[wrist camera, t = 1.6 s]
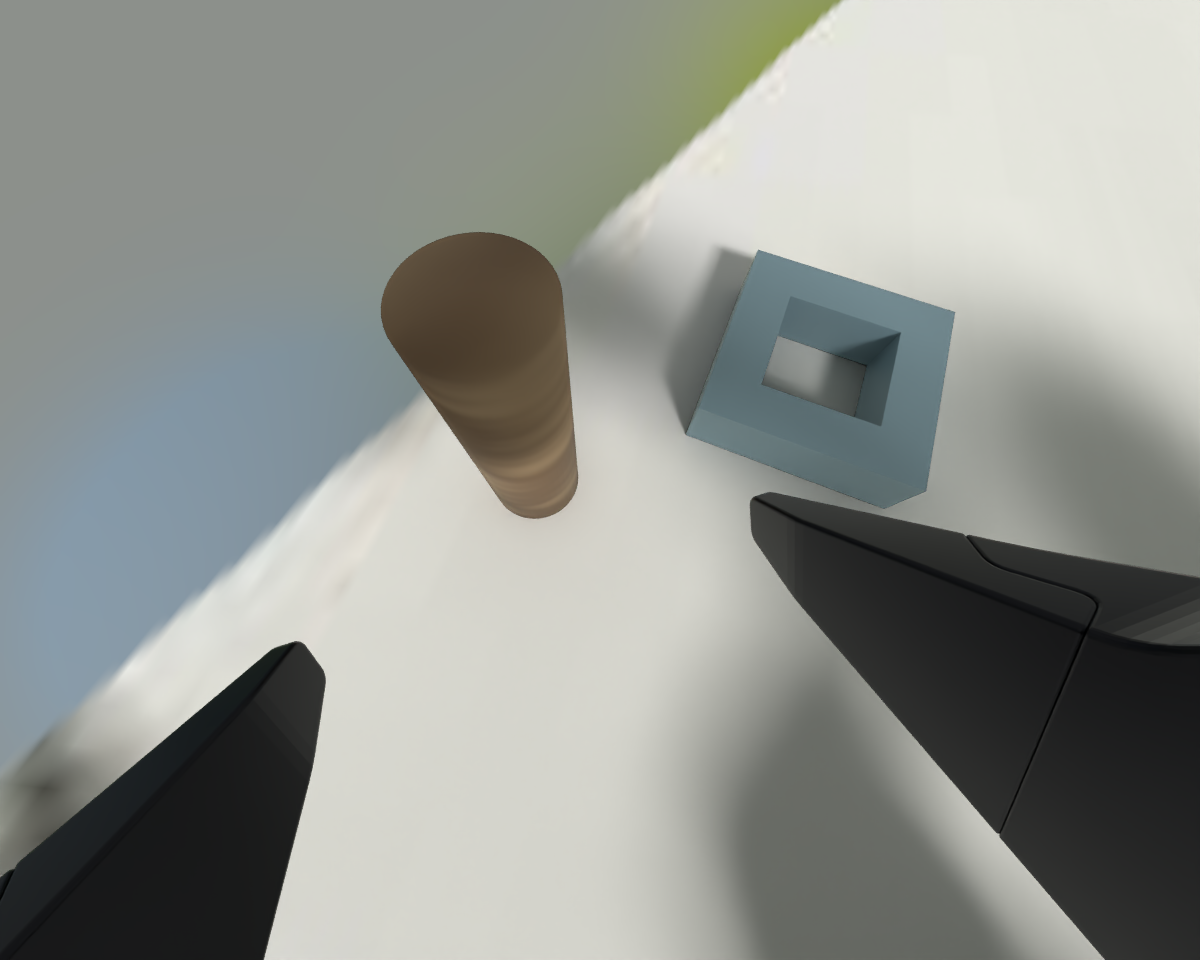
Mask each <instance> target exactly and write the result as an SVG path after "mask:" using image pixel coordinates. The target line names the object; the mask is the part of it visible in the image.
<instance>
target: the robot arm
mask: <svg viewBox="0 0 1200 960" xmlns="http://www.w3.org/2000/svg"><path fill="white" fill-rule="evenodd" d="M750 517H751V532H752V535H753V538H754V540H755V542H756V543H757V545H758V546H759V548H760V549H761V551H762V552H763V554H764V555H765V557H766V558H767V559H768V561H769V562H770V564H771V565H772V567H773V568H774V570H775V571H776V573H777V574H778V575H779V577H780V578H781V580H782V581H783V583H784V584H785V586H786V587H787V589H788V590H789V591H790V593H791V594H792V595H793V597H794V598H795V599H796V601H797V602H798V603H799V604H800V605H801V607H802V608H803V609H804V610H805V611H806V613H807V614H808V615H809V616H810V617H811V618H812V619H813V621H814V622H815V623H816V624H817V625H818V626H819V628H820V629H821V630H822V631H823V632H824V633H825V635H826V636H827V637H828V638H829V639H830V640H831V642H832V643H833V644H834V645H835V646H836V647H837V649H838V650H839V651H840V652H841V653H842V654H843V655H844V657H845V658H846V659H847V660H848V661H849V662H850V664H851V665H852V666H853V667H854V668H855V669H856V671H857V672H858V673H859V674H860V675H861V676H862V678H863V679H864V680H865V681H866V682H867V683H868V684H869V686H870V687H871V688H872V689H873V690H874V691H875V693H876V694H877V695H878V696H879V697H880V698H881V700H882V701H883V702H884V703H885V704H886V705H887V707H888V708H889V709H890V710H891V711H892V712H893V714H894V715H895V716H896V717H897V718H898V719H899V720H900V722H901V723H902V724H903V725H904V726H905V727H906V729H907V730H908V731H909V732H910V733H911V734H912V736H913V737H914V738H915V739H916V740H917V741H918V743H919V744H920V745H921V746H922V747H923V748H924V750H925V751H926V752H927V753H928V754H929V755H930V756H931V758H932V759H933V760H934V761H935V762H936V763H937V765H938V766H939V767H940V768H941V769H942V770H943V772H944V773H945V774H946V775H947V776H948V777H949V779H950V780H951V781H952V782H953V783H954V784H955V786H956V787H957V788H958V789H959V790H960V791H961V792H962V794H963V795H964V796H965V797H966V798H967V799H968V801H969V802H970V803H971V804H972V805H973V806H974V808H975V809H976V810H977V811H978V812H979V813H980V815H981V816H982V817H983V818H984V819H985V820H986V822H987V823H988V824H989V825H990V826H991V827H992V828H993V830H994V831H995V832H996V833H998V834H1000V835H999V836H1000V838H1001V839H1002V841H1003V842H1004V843H1005V844H1006V845H1007V846H1008V848H1009V849H1010V850H1011V851H1012V852H1013V853H1014V855H1015V856H1016V857H1017V858H1018V859H1019V860H1020V862H1021V863H1022V864H1023V865H1024V866H1025V867H1026V869H1027V870H1028V871H1029V872H1030V873H1031V874H1032V875H1033V877H1034V878H1035V879H1036V880H1037V881H1038V882H1039V884H1040V885H1041V886H1042V887H1043V888H1044V889H1045V891H1046V892H1047V893H1048V894H1049V895H1050V896H1051V898H1052V899H1053V900H1054V901H1055V902H1056V903H1057V904H1058V906H1059V907H1060V908H1061V909H1062V910H1063V911H1064V913H1065V914H1066V915H1067V916H1068V917H1069V918H1070V920H1071V921H1072V922H1073V923H1074V924H1075V925H1076V927H1077V928H1078V929H1079V930H1080V931H1081V932H1082V934H1083V935H1084V936H1085V937H1086V938H1087V939H1088V940H1089V942H1090V943H1091V944H1092V945H1093V946H1094V947H1095V949H1096V950H1097V951H1098V952H1099V953H1100V954H1101V956H1102V957H1103V958H1104V959H1105V960H1200V577H1195V576H1190V575H1184V574H1178V573H1172V572H1166V571H1160V570H1154V569H1148V568H1143V567H1137V566H1131V565H1125V564H1119V563H1113V562H1107V561H1101V560H1096V559H1090V558H1084V557H1078V556H1073V555H1067V554H1062V553H1056V552H1051V551H1045V550H1039V549H1034V548H1029V547H1024V546H1020V545H1015V544H1010V543H1005V542H1000V541H995V540H990V539H986V538H981V537H977V536H972V535H967V536H965V535H964V534H962V533H958V532H953V531H949V530H944V529H939V528H935V527H930V526H925V525H921V524H916V523H912V522H907V521H902V520H898V519H893V518H888V517H884V516H879V515H875V514H870V513H865V512H861V511H856V510H852V509H847V508H842V507H838V506H833V505H828V504H824V503H819V502H815V501H810V500H805V499H801V498H796V497H791V496H787V495H782V494H778V493H773V492H767V493H764V494H761V495H758V496H755V497H753V498H752V499H751V501H750ZM325 685H326V678H325V673H324V671H323V669H322V667H321V666H320V665H319V663H318V662H317V661H316V659H315V658H314V656H313V655H312V654H311V652H310V651H309V650H308V648H307V647H306V646H305V645H304V644H303V643H302V642H299V641H294V642H291V643H288V644H285V645H282V646H278V647H276V648H274V649H272V650H270V651H269V652H268V653H267V654H266V655H264V656H263V657H262V658H261V659H260V660H259V661H257V662H256V663H255V664H254V665H253V666H251V667H250V668H249V669H248V670H247V671H245V672H244V673H243V674H242V675H241V676H240V677H238V678H237V679H236V680H235V681H234V682H232V683H231V684H230V685H229V686H228V687H226V688H225V689H224V690H223V691H222V692H221V693H219V694H218V695H217V696H216V697H215V698H213V699H212V700H211V701H210V702H209V703H207V704H206V705H205V706H204V707H203V708H201V709H200V710H199V711H198V712H197V713H196V714H194V715H193V716H192V717H191V718H190V719H188V720H187V721H186V722H185V723H184V724H182V725H181V726H180V727H179V728H178V729H177V730H175V731H174V732H173V733H172V734H171V735H169V736H168V737H167V738H166V739H165V740H163V741H162V742H161V743H160V744H159V745H157V746H156V747H155V748H154V749H153V750H152V751H150V752H149V753H148V754H147V755H146V756H144V757H143V758H142V759H141V760H140V761H138V762H137V763H136V764H135V765H134V766H133V767H131V768H130V769H129V770H128V771H127V772H125V773H124V774H123V775H122V776H121V777H119V778H118V779H117V780H116V781H115V782H114V783H112V784H111V785H110V786H109V787H108V788H106V789H105V790H104V791H103V792H102V793H100V794H99V795H98V796H97V797H96V798H94V799H93V800H92V801H91V802H90V803H89V804H87V805H86V806H85V807H84V808H83V809H81V810H80V811H79V812H78V813H77V814H75V815H74V816H73V817H72V818H71V819H70V820H68V821H67V822H66V823H65V824H64V825H62V826H61V827H60V828H59V829H58V830H56V831H55V832H54V833H53V834H52V835H51V836H49V837H48V838H47V839H46V840H45V841H43V842H42V843H41V844H40V845H39V846H37V847H36V848H35V849H34V850H33V851H31V852H30V853H29V854H28V855H27V856H26V857H24V858H23V859H22V860H21V861H20V862H19V863H18V864H17V865H16V867H15V869H12V870H9V871H8V872H6V873H5V874H4V875H3V876H2V877H0V960H264V957H265V953H266V949H267V945H268V941H269V938H270V934H271V930H272V926H273V922H274V918H275V914H276V910H277V906H278V902H279V899H280V895H281V891H282V887H283V883H284V879H285V875H286V871H287V867H288V863H289V859H290V856H291V852H292V848H293V844H294V840H295V836H296V832H297V828H298V824H299V820H300V816H301V813H302V809H303V805H304V801H305V797H306V793H307V789H308V785H309V781H310V777H311V772H312V768H313V763H314V757H315V752H316V745H317V738H318V732H319V725H320V718H321V712H322V705H323V698H324V691H325Z"/></svg>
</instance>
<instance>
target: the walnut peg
mask: <svg viewBox="0 0 1200 960" xmlns="http://www.w3.org/2000/svg"><path fill="white" fill-rule="evenodd" d="M381 318H382V323H383V327H384V330H385V332H386V335H387V337H388V339H389V340H390V342H391V343H392V345H393V347H394V348H395V349H396V351H397V352H398V354H399V355H400V357H401V358H402V360H403V361H404V363H405V364H406V365H407V367H408V368H409V370H410V371H411V373H412V374H413V375H414V377H415V378H416V380H417V381H418V383H419V384H420V386H421V387H422V388H423V390H424V391H425V393H426V394H427V396H428V397H429V399H430V400H431V401H432V403H433V404H434V406H435V407H436V409H437V410H438V412H439V413H440V414H441V416H442V417H443V419H444V420H445V422H446V423H447V424H448V426H449V427H450V429H451V430H452V432H453V433H454V435H455V436H456V437H457V439H458V440H459V442H460V443H461V445H462V446H463V448H464V449H465V450H466V452H467V453H468V455H469V456H470V458H471V459H472V461H473V462H474V463H475V465H476V466H477V468H478V469H479V471H480V472H481V473H482V475H483V476H484V478H485V479H486V481H487V482H488V484H489V485H490V486H491V488H492V489H493V491H494V492H495V494H496V495H497V497H498V498H499V499H500V501H501V502H502V503H503V505H504V506H505V507H506V508H507V509H508V510H510V511H511V512H513V513H514V514H516V515H519V516H521V517H525V518H533V519H536V518H544V517H548V516H551V515H553V514H555V513H557V512H559V511H560V510H562V509H563V508H564V507H565V506H566V505H567V504H568V503H569V502H570V500H571V499H572V497H573V496H574V494H575V491H576V489H577V484H578V470H577V458H576V447H575V435H574V424H573V412H572V400H571V389H570V377H569V366H568V354H567V342H566V331H565V319H564V308H563V296H562V289H561V284H560V281H559V278H558V276H557V273H556V272H555V270H554V268H553V266H552V265H551V264H550V263H549V261H548V260H547V259H546V258H545V257H544V256H543V255H542V254H541V253H540V252H539V251H537V250H536V249H534V248H533V247H532V246H529V245H528V244H526V243H524V242H522V241H520V240H517V239H515V238H512V237H509V236H505V235H501V234H495V233H485V232H474V233H463V234H457V235H453V236H448V237H445V238H442V239H439V240H436V241H434V242H432V243H430V244H428V245H426V246H424V247H422V248H421V249H419V250H417V251H416V252H414V253H413V254H412V255H411V256H409V257H408V258H407V259H406V260H405V261H404V262H403V263H401V265H400V266H399V267H398V268H397V269H396V271H395V272H394V273H393V275H392V276H391V278H390V280H389V282H388V283H387V286H386V288H385V290H384V294H383V297H382V303H381Z"/></svg>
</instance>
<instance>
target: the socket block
mask: <svg viewBox="0 0 1200 960" xmlns="http://www.w3.org/2000/svg"><path fill="white" fill-rule="evenodd" d="M954 315H955V312H953V311H950V310H947V309H943V308H940V307H937V306H934V305H931V304H928V303H925V302H921V301H918V300H915V299H912V298H909V297H906V296H902V295H899V294H896V293H893V292H890V291H887V290H884V289H880V288H877V287H874V286H871V285H868V284H865V283H861V282H858V281H855V280H852V279H849V278H846V277H842V276H839V275H836V274H833V273H830V272H827V271H824V270H820V269H817V268H814V267H811V266H808V265H805V264H801V263H798V262H795V261H792V260H789V259H786V258H783V257H779V256H776V255H773V254H770V253H767V252H764V251H760V250H758V252H757V254H756V256H755V258H754V261H753V263H752V265H751V268H750V270H749V272H748V274H747V277H746V279H745V281H744V284H743V286H742V288H741V291H740V293H739V296H738V299H737V301H736V304H735V306H734V309H733V312H732V314H731V317H730V320H729V322H728V325H727V327H726V330H725V333H724V335H723V338H722V341H721V343H720V346H719V348H718V351H717V354H716V356H715V359H714V362H713V364H712V367H711V370H710V372H709V375H708V377H707V380H706V383H705V385H704V388H703V391H702V393H701V396H700V398H699V401H698V404H697V406H696V409H695V412H694V414H693V417H692V419H691V422H690V425H689V427H688V430H687V433H686V435H688V436H691V437H693V438H696V439H699V440H701V441H704V442H707V443H709V444H712V445H715V446H717V447H720V448H723V449H726V450H728V451H731V452H734V453H736V454H739V455H742V456H744V457H747V458H750V459H752V460H755V461H758V462H760V463H763V464H766V465H768V466H771V467H774V468H776V469H779V470H782V471H784V472H787V473H790V474H792V475H795V476H798V477H801V478H803V479H806V480H809V481H811V482H814V483H817V484H819V485H822V486H825V487H827V488H830V489H833V490H835V491H838V492H841V493H843V494H846V495H849V496H851V497H854V498H857V499H859V500H862V501H865V502H867V503H870V504H873V505H876V506H878V507H881V508H884V509H885V508H887V507H889V506H892V505H894V504H896V503H899V502H901V501H904V500H906V499H908V498H911V497H913V496H915V495H918V494H920V493H923V492H925V491H926V488H927V482H928V476H929V469H930V463H931V457H932V451H933V445H934V439H935V432H936V426H937V420H938V414H939V408H940V402H941V395H942V389H943V383H944V377H945V371H946V365H947V358H948V352H949V346H950V340H951V334H952V328H953V322H954ZM777 336H781V337H784V338H787V339H790V340H793V341H796V342H799V343H802V344H805V345H808V346H811V347H814V348H817V349H820V350H823V351H825V352H828V353H831V354H834V355H837V356H840V357H843V358H846V359H849V360H852V361H855V362H858V363H861V364H864V365H867V367H866V371H865V375H864V380H863V384H862V388H861V392H860V397H859V401H858V405H857V409H856V414H855V417H852V416H850V415H847V414H844V413H841V412H838V411H835V410H832V409H830V408H827V407H824V406H821V405H818V404H815V403H813V402H810V401H807V400H804V399H801V398H798V397H796V396H793V395H790V394H787V393H784V392H781V391H779V390H776V389H773V388H770V387H767V386H764V385H762V381H763V378H764V375H765V372H766V369H767V366H768V363H769V360H770V357H771V354H772V351H773V348H774V345H775V342H776V339H777Z"/></svg>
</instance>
